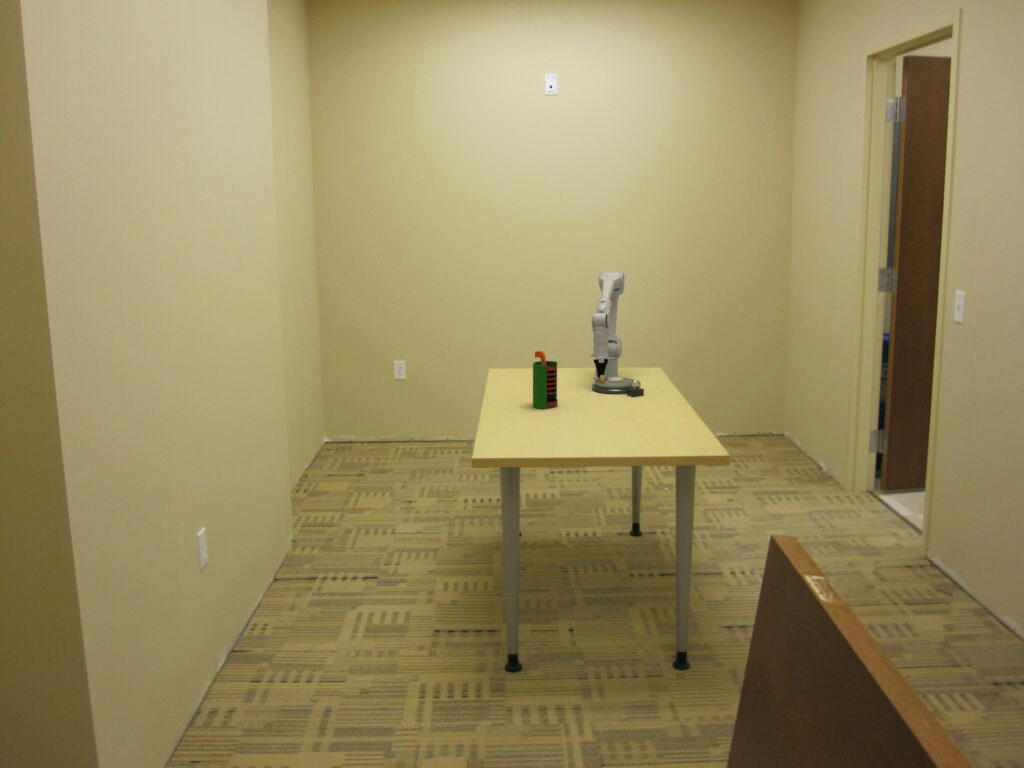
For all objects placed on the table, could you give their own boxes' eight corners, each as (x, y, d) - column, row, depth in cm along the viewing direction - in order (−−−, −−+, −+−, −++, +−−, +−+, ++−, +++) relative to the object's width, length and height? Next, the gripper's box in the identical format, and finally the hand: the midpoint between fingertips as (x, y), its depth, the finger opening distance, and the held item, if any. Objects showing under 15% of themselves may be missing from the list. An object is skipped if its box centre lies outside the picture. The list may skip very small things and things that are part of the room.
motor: (555, 409, 319) (554, 354, 314) (530, 408, 320) (529, 353, 316) (559, 403, 328) (559, 349, 324) (535, 402, 330) (534, 348, 326)
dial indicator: (624, 394, 340) (624, 379, 338) (635, 393, 342) (635, 377, 341) (632, 397, 335) (633, 381, 334) (643, 395, 338) (643, 379, 336)
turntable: (586, 383, 352) (586, 372, 351) (620, 379, 360) (620, 368, 359) (610, 391, 338) (610, 379, 337) (644, 386, 346) (644, 374, 345)
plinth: (583, 387, 353) (583, 384, 353) (620, 382, 361) (620, 378, 361) (609, 396, 337) (609, 392, 337) (648, 390, 346) (648, 386, 345)
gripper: (590, 340, 356) (590, 374, 358) (590, 346, 341) (590, 381, 344) (608, 340, 355) (607, 374, 358) (609, 346, 341) (609, 381, 344)
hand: (600, 377), depth 351 cm, fingers closed
